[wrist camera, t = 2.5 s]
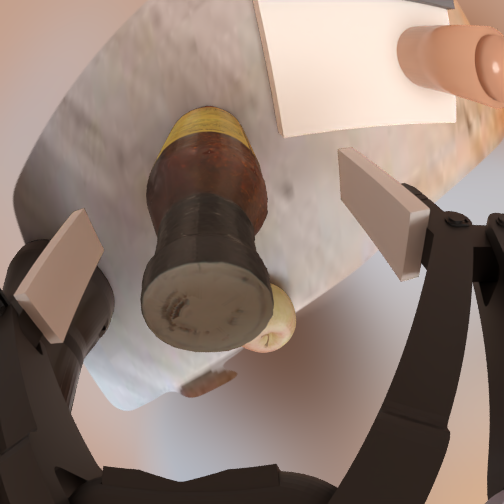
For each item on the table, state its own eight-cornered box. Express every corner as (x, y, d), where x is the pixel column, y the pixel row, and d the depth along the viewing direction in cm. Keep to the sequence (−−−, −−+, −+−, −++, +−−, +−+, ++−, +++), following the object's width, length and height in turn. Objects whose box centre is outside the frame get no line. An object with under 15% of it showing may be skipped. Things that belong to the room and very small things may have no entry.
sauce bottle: (158, 132, 24) (47, 282, 7) (218, 90, 22) (217, 148, 6) (201, 187, 27) (186, 387, 11) (259, 150, 26) (336, 323, 9)
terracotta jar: (400, 87, 20) (481, 110, 12) (392, 23, 17) (474, 17, 9) (448, 89, 20) (527, 115, 12) (443, 30, 17) (524, 37, 9)
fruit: (216, 284, 34) (218, 340, 27) (278, 263, 33) (293, 316, 26) (241, 325, 38) (246, 377, 31) (295, 307, 37) (310, 358, 31)
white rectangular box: (278, 131, 25) (287, 141, 22) (250, -7, 17) (256, -19, 14) (441, 117, 24) (463, 125, 21) (429, 1, 17) (452, -2, 14)
